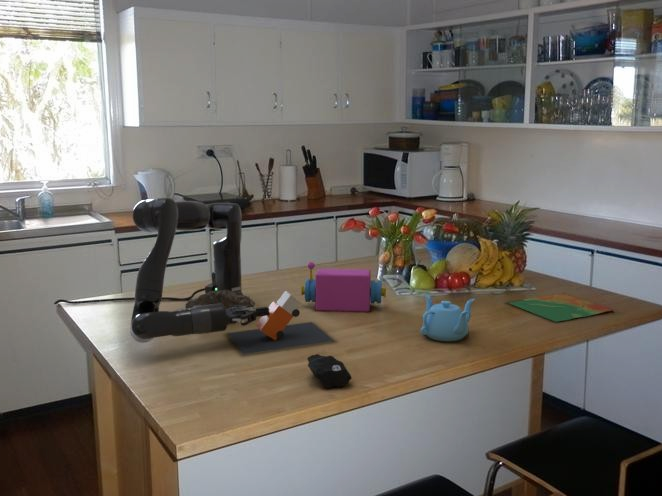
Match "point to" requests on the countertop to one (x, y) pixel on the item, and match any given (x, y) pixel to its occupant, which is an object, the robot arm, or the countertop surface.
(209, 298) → the fossil
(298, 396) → the countertop surface
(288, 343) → the mat
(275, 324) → the truck
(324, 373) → the rock
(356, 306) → the toy
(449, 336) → the teapot
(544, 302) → the terrain model
